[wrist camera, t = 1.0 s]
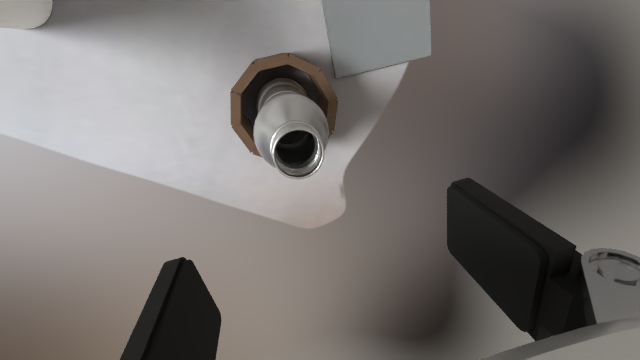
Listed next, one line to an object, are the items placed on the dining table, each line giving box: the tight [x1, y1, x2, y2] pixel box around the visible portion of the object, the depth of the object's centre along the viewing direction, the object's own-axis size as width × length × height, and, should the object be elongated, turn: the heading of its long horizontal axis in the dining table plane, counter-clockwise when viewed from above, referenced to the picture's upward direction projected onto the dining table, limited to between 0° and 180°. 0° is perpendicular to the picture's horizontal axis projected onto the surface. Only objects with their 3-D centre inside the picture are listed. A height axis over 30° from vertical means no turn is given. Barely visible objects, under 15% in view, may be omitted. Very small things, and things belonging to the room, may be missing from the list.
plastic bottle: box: [253, 78, 329, 179], centre depth 28 cm, size 6×7×20 cm
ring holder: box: [230, 53, 338, 157], centre depth 34 cm, size 12×12×6 cm
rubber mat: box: [322, 0, 431, 79], centre depth 34 cm, size 13×13×1 cm
